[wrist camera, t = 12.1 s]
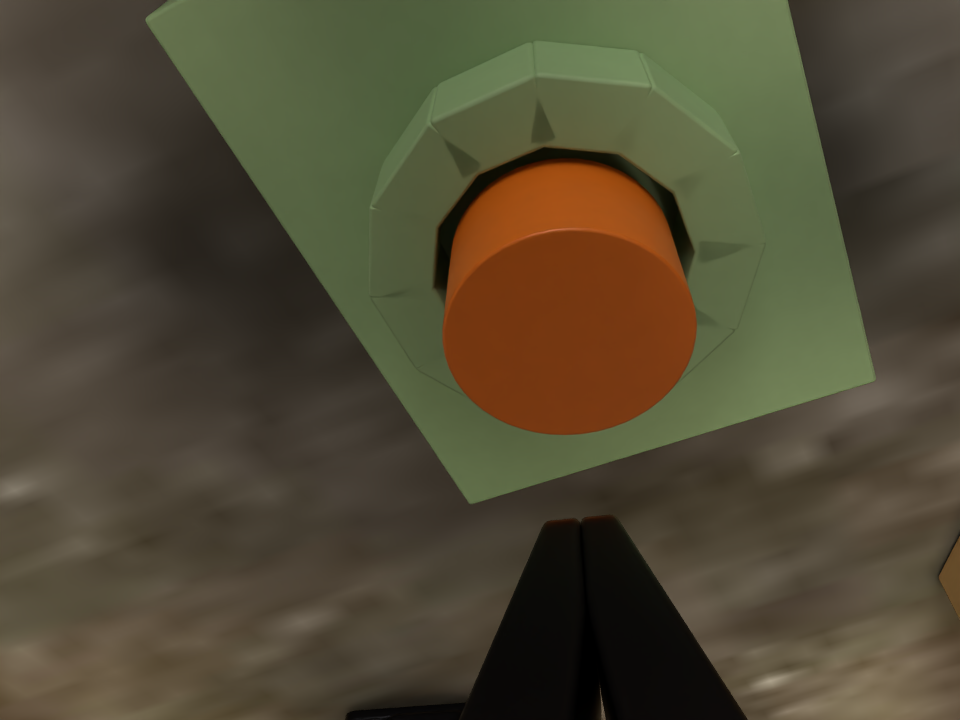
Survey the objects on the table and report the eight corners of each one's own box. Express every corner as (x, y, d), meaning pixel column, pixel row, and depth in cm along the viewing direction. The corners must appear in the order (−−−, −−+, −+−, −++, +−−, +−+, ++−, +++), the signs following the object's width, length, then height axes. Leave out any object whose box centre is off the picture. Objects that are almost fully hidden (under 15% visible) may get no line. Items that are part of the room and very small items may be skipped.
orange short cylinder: (699, 307, 16) (727, 392, 14) (505, 374, 17) (504, 463, 15) (629, 119, 14) (650, 187, 11) (412, 210, 15) (396, 287, 13)
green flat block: (845, 325, 20) (908, 437, 17) (472, 447, 23) (466, 562, 20) (691, -292, 13) (749, -302, 10) (182, -12, 16) (100, 52, 13)
